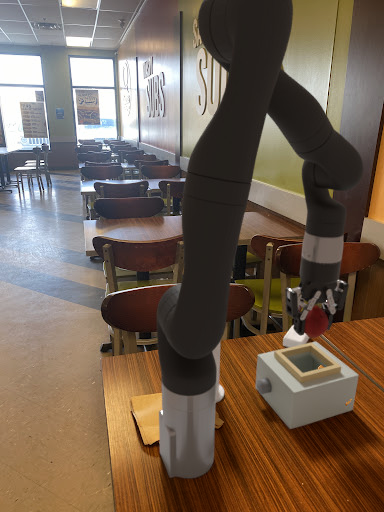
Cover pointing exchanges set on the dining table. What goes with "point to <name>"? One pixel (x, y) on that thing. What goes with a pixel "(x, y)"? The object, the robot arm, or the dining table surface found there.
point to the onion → (315, 322)
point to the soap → (294, 338)
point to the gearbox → (305, 383)
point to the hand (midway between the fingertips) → (312, 330)
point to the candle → (218, 387)
